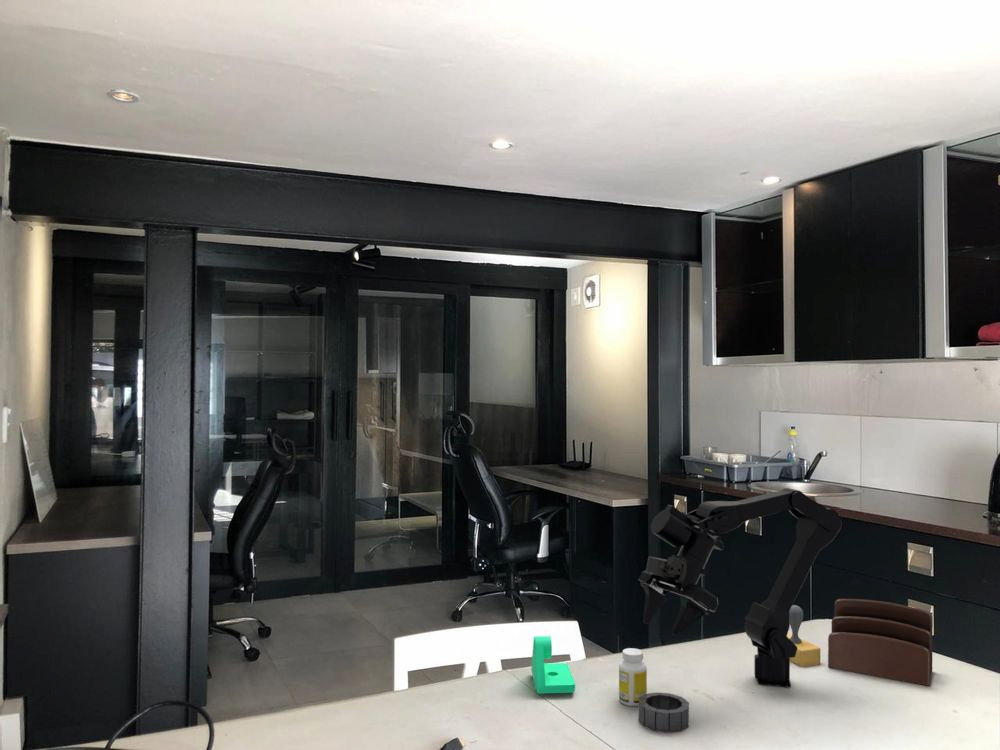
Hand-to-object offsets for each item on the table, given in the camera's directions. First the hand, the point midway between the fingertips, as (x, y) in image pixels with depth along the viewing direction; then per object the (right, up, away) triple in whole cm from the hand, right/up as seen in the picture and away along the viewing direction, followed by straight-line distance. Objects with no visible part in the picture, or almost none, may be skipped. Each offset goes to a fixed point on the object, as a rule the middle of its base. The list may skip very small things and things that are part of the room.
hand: (658, 628), depth 155 cm
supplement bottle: (-5, -14, -1) cm, 15 cm away
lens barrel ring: (-1, -14, -10) cm, 17 cm away
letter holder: (+52, -15, +16) cm, 56 cm away
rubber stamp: (+36, -14, +23) cm, 45 cm away
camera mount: (-21, -14, +6) cm, 26 cm away
